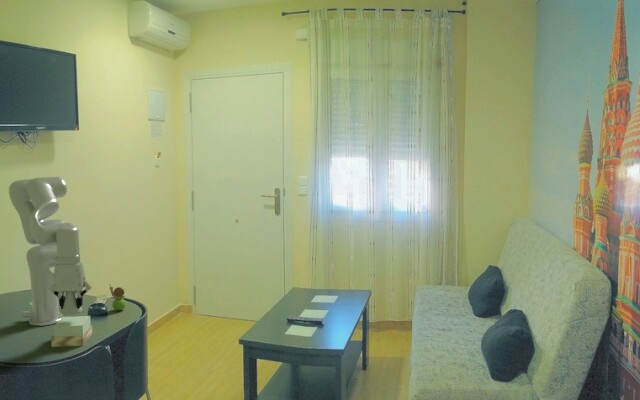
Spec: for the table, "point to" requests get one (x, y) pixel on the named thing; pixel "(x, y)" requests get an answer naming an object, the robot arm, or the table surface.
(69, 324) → the tower top block
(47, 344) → the table surface
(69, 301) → the flask
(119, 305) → the snail figurine
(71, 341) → the tower base block
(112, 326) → the table surface
